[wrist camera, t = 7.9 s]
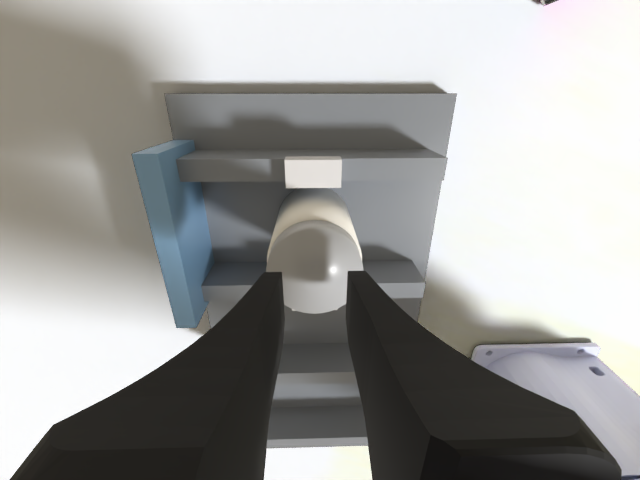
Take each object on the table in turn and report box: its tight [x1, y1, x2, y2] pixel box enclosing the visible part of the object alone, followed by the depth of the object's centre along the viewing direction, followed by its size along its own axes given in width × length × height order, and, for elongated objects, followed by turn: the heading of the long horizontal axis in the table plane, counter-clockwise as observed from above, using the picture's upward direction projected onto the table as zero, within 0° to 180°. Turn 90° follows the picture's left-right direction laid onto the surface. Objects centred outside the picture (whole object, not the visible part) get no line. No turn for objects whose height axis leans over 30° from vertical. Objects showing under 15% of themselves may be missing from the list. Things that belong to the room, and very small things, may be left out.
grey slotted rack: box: [132, 93, 457, 448], centre depth 19 cm, size 14×26×5 cm, turn 0°
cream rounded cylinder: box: [266, 188, 363, 314], centre depth 15 cm, size 4×4×6 cm
